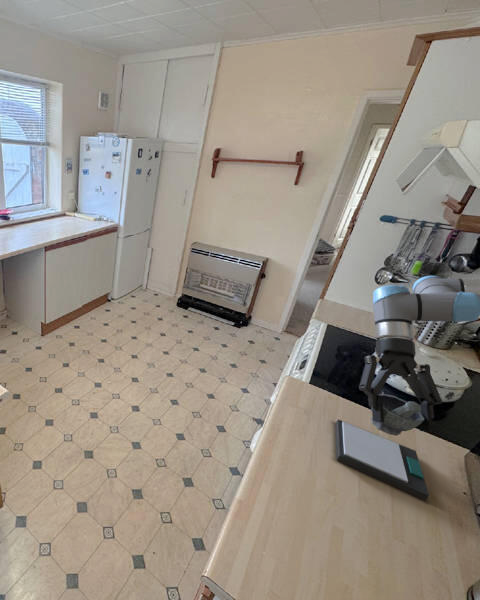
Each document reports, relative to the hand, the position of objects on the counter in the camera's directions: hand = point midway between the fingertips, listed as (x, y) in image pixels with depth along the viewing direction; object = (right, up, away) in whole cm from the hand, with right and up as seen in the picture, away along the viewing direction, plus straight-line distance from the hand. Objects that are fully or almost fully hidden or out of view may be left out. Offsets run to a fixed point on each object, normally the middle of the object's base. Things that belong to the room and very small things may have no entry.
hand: (402, 426), depth 81 cm
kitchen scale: (+1, -12, +8) cm, 15 cm away
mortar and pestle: (0, -2, +5) cm, 5 cm away
